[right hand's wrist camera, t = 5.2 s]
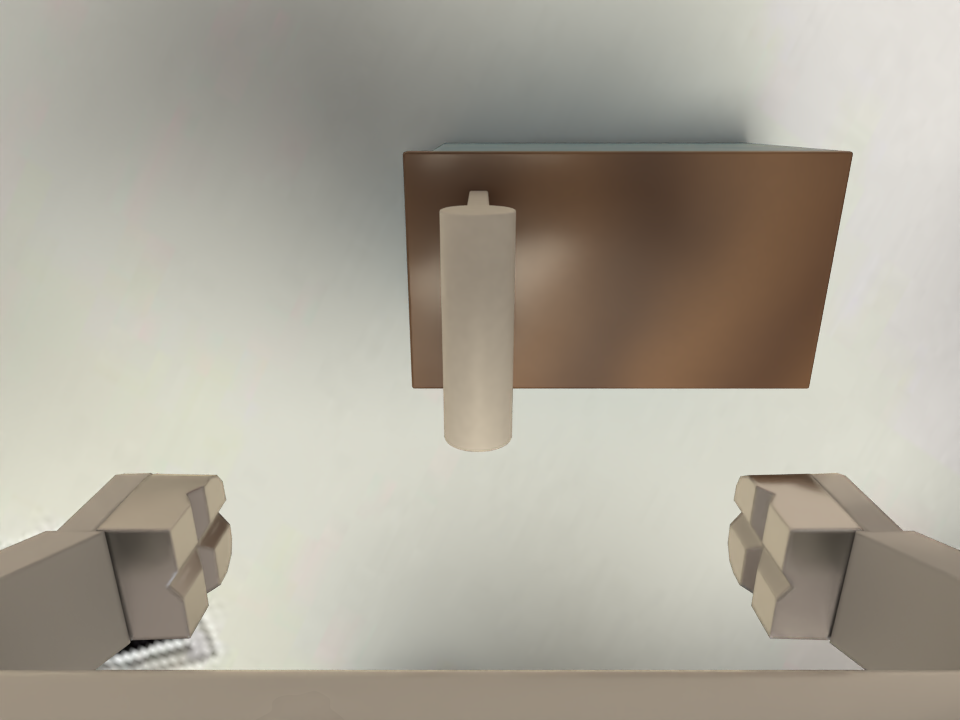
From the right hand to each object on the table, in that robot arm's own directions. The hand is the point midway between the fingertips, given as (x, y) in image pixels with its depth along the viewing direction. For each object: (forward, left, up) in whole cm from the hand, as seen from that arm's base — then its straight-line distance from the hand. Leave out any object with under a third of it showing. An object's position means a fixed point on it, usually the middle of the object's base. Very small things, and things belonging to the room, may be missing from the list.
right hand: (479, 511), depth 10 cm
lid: (+4, +3, -17) cm, 18 cm away
